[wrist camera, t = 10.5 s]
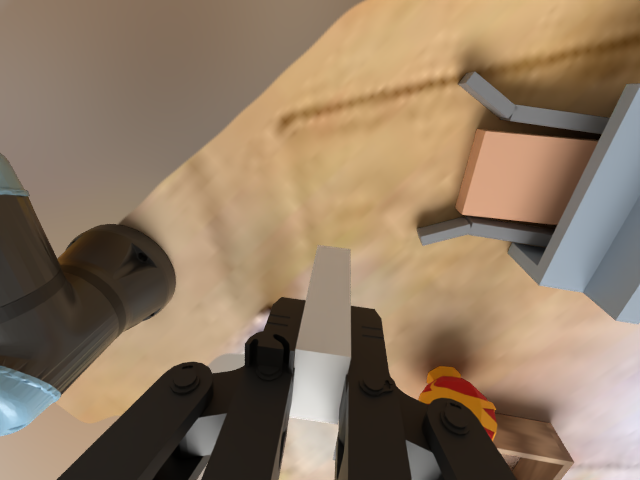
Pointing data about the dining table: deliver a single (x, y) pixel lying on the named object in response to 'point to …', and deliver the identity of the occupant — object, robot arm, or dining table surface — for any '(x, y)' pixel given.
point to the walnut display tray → (532, 448)
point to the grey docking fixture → (576, 208)
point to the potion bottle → (459, 395)
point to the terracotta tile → (522, 175)
